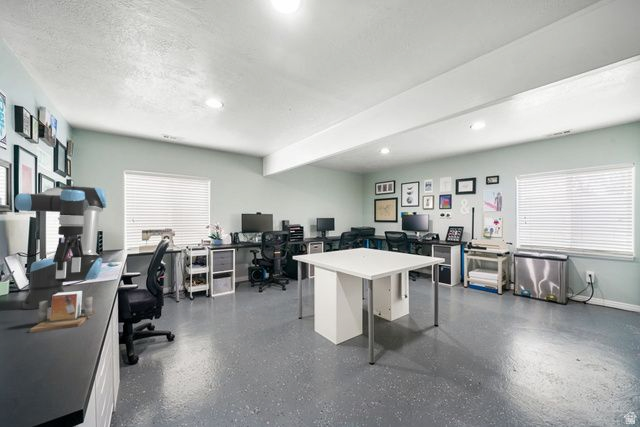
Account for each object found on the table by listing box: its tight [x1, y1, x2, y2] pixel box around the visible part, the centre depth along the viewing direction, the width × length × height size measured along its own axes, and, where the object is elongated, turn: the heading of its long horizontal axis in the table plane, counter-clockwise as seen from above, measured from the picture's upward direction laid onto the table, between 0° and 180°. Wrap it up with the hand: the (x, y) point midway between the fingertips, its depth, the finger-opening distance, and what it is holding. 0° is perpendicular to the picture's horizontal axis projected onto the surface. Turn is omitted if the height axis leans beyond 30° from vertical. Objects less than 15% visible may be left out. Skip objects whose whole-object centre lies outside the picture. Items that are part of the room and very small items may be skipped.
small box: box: [49, 290, 83, 321], centre depth 106 cm, size 8×6×10 cm
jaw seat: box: [29, 296, 96, 333], centre depth 106 cm, size 18×17×9 cm
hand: (68, 275), depth 107 cm, fingers open, 13 cm apart
